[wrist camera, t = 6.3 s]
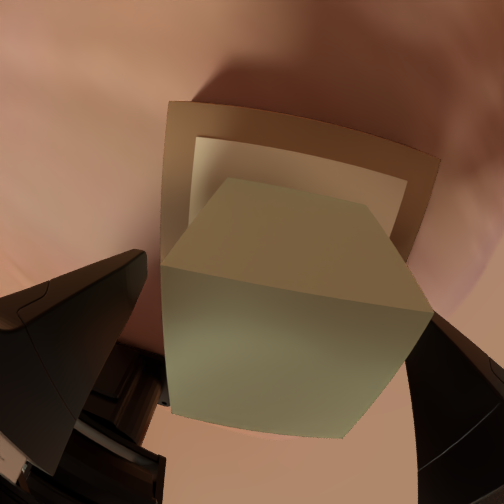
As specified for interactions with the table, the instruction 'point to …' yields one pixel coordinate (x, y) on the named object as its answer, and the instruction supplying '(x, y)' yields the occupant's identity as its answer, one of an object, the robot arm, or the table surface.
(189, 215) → the walnut base
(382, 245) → the sage block
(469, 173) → the table surface
